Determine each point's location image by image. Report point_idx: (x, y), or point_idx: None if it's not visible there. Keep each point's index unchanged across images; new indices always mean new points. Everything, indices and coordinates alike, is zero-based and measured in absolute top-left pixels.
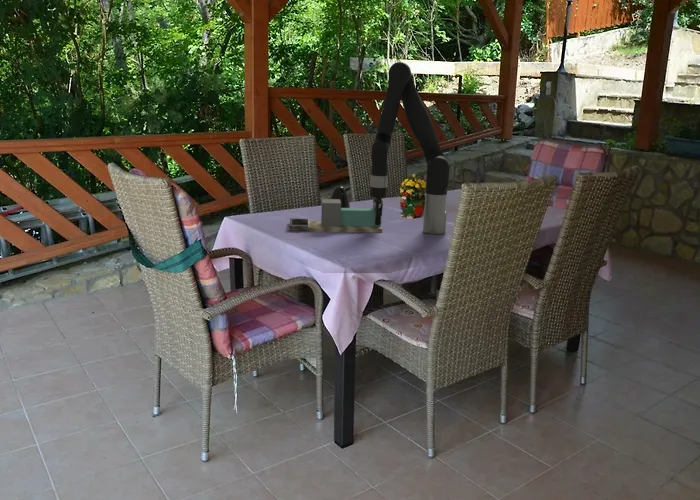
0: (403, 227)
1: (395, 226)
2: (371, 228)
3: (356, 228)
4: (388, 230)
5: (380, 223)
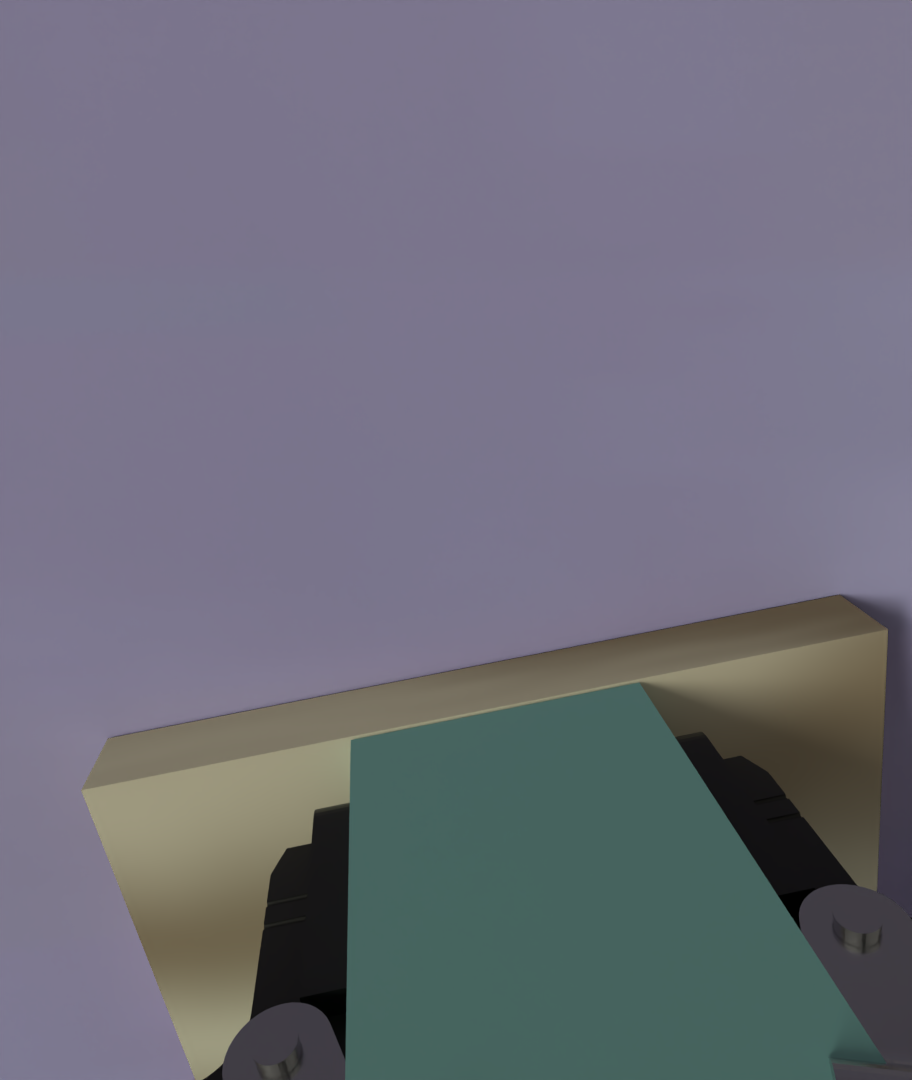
0: (181, 13)
1: (131, 287)
2: (838, 848)
3: None
4: (634, 465)
5: (668, 740)
